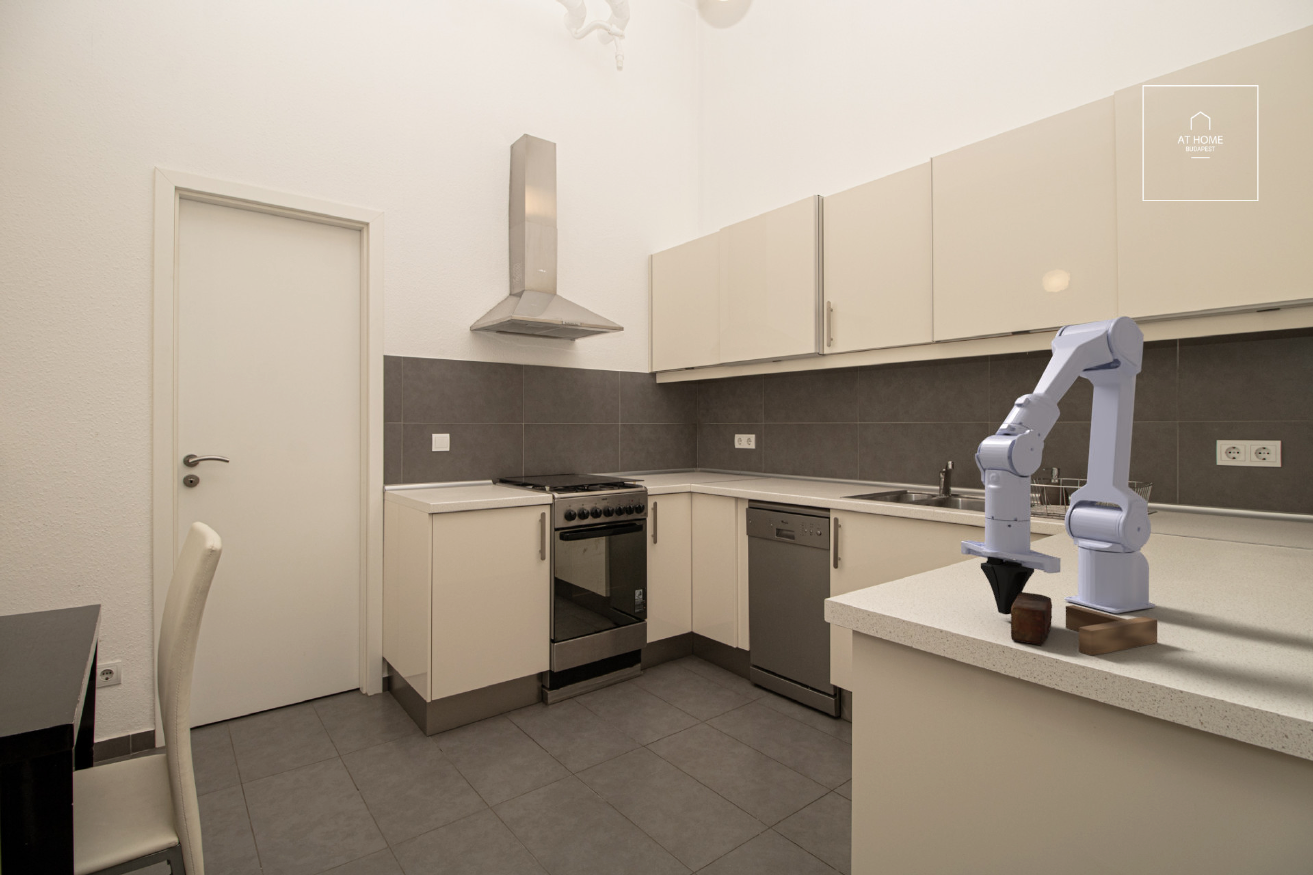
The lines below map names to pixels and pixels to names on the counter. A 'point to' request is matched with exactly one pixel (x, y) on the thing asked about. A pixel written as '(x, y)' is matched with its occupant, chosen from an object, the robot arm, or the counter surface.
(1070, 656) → the counter surface
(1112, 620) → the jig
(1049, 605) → the brick
